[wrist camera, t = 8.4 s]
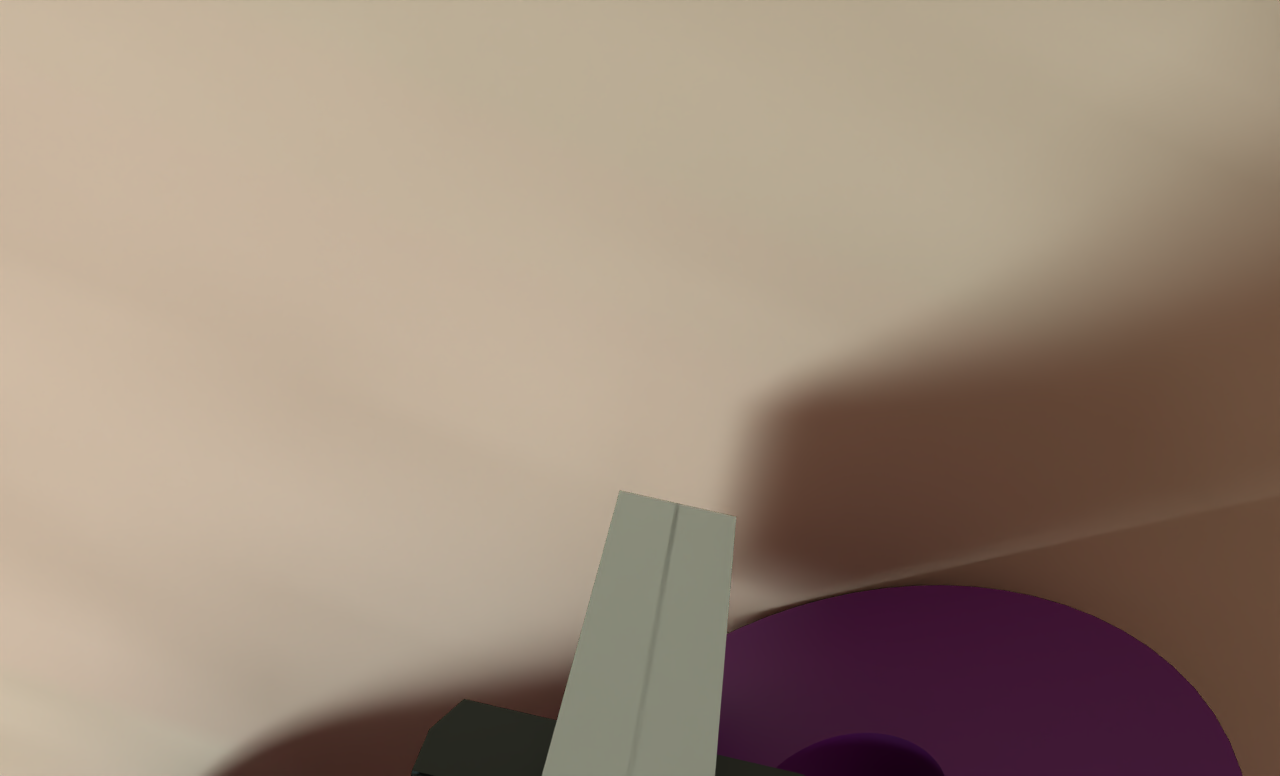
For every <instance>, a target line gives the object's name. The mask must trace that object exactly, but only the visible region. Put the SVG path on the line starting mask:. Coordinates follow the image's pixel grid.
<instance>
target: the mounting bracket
mask: <svg viewBox="0 0 1280 776" xmlns="http://www.w3.org/2000/svg"><path fill="white" fill-rule="evenodd" d="M717 755H722V756H726V757H730V758H735V759H739V760H743V761H748V762H752V763H756V764H761V765H765V766H769V767H774V768H778V769H782V770H787V771H791V772H795V773H799V774H804V775H805V776H1242V772H1241V769H1240V767H1239V764H1238V762H1237V759H1236V757H1235V754H1234V751H1233V749H1232V746H1231V744H1230V741H1229V739H1228V738H1227V736H1226V734H1225V732H1224V731H1223V729H1222V727H1221V725H1220V723H1219V722H1218V720H1217V718H1216V716H1215V715H1214V713H1213V712H1212V710H1211V709H1210V708H1209V706H1208V705H1207V704H1206V703H1205V701H1204V700H1203V699H1202V697H1201V696H1200V695H1199V693H1198V692H1197V691H1196V689H1195V688H1194V687H1193V686H1192V685H1191V684H1190V683H1189V682H1188V681H1187V680H1186V679H1185V678H1184V677H1183V676H1182V675H1181V674H1180V673H1179V672H1178V671H1177V670H1176V669H1175V668H1174V667H1173V666H1172V665H1171V664H1169V663H1168V662H1167V661H1166V660H1164V659H1163V658H1162V657H1161V656H1159V655H1158V654H1157V653H1156V652H1154V651H1153V650H1152V649H1151V648H1149V647H1148V646H1147V645H1145V644H1143V643H1142V642H1140V641H1139V640H1137V639H1135V638H1134V637H1132V636H1131V635H1129V634H1127V633H1126V632H1124V631H1123V630H1121V629H1119V628H1117V627H1115V626H1113V625H1111V624H1109V623H1107V622H1105V621H1103V620H1101V619H1099V618H1097V617H1095V616H1092V615H1090V614H1087V613H1084V612H1082V611H1079V610H1077V609H1074V608H1071V607H1069V606H1066V605H1063V604H1060V603H1056V602H1053V601H1049V600H1046V599H1042V598H1039V597H1035V596H1030V595H1025V594H1020V593H1015V592H1010V591H1005V590H997V589H989V588H981V587H970V586H950V585H928V586H905V587H893V588H882V589H875V590H869V591H862V592H856V593H850V594H845V595H841V596H836V597H831V598H827V599H822V600H819V601H815V602H812V603H808V604H805V605H801V606H797V607H794V608H791V609H788V610H785V611H782V612H779V613H777V614H774V615H771V616H768V617H765V618H763V619H760V620H758V621H756V622H753V623H751V624H748V625H746V626H744V627H741V628H739V629H737V630H735V631H733V632H731V633H729V634H727V636H726V648H725V660H724V672H723V684H722V696H721V708H720V720H719V732H718V745H717Z"/></svg>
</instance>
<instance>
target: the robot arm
mask: <svg viewBox="0 0 1280 776" xmlns="http://www.w3.org/2000/svg"><path fill="white" fill-rule="evenodd" d="M735 527H736V516H731V515H727V514H722V513H718V512H713V511H709V510H704V509H700V508H696V507H691V506H687V505H682V504H678V503H674V502H669V501H665V500H660V499H656V498H651V497H647V496H643V495H638V494H634V493H629V492H625V491H619V495H618V499H617V502H616V506H615V510H614V513H613V517H612V521H611V524H610V528H609V532H608V535H607V539H606V543H605V546H604V550H603V554H602V557H601V561H600V564H599V568H598V572H597V575H596V579H595V583H594V586H593V590H592V594H591V597H590V601H589V605H588V608H587V612H586V616H585V619H584V623H583V627H582V630H581V634H580V638H579V641H578V645H577V649H576V652H575V656H574V660H573V663H572V667H571V671H570V674H569V678H568V682H567V685H566V689H565V693H564V696H563V700H562V704H561V707H560V711H559V715H558V718H557V720H552V719H548V718H544V717H539V716H535V715H531V714H526V713H522V712H518V711H514V710H509V709H505V708H501V707H496V706H492V705H488V704H483V703H479V702H475V701H470V700H466V699H464V700H462V701H461V702H460V703H459V704H458V705H457V706H456V707H454V708H453V709H452V710H451V711H450V712H449V713H448V714H446V715H445V716H444V717H443V718H442V719H441V720H440V721H438V722H437V723H436V724H435V725H434V726H433V727H432V728H430V729H429V731H428V734H427V736H426V739H425V741H424V743H423V746H422V748H421V751H420V753H419V755H418V758H417V760H416V763H415V765H414V767H413V770H412V774H411V776H805V775H804V774H799V773H795V772H791V771H787V770H782V769H778V768H774V767H769V766H765V765H761V764H756V763H752V762H748V761H743V760H739V759H735V758H730V757H726V756H722V755H717V745H718V732H719V720H720V708H721V696H722V684H723V672H724V660H725V648H726V636H727V623H728V611H729V599H730V587H731V575H732V563H733V551H734V539H735Z"/></svg>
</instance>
